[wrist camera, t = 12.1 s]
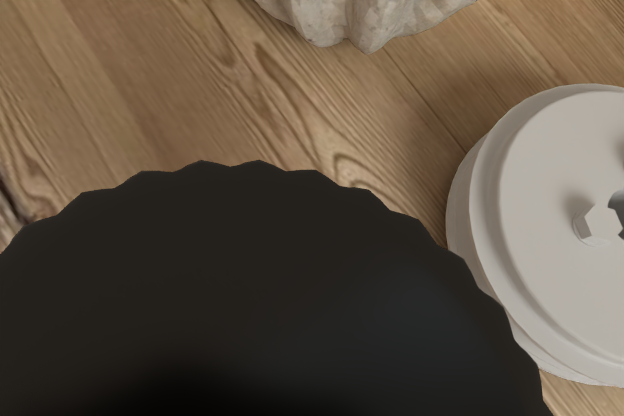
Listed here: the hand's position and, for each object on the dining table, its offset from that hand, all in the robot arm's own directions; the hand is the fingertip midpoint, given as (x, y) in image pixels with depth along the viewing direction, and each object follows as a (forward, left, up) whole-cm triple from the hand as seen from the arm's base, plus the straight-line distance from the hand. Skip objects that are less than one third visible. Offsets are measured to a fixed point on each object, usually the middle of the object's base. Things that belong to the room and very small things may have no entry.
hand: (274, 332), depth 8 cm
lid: (+12, -8, -12) cm, 19 cm away
